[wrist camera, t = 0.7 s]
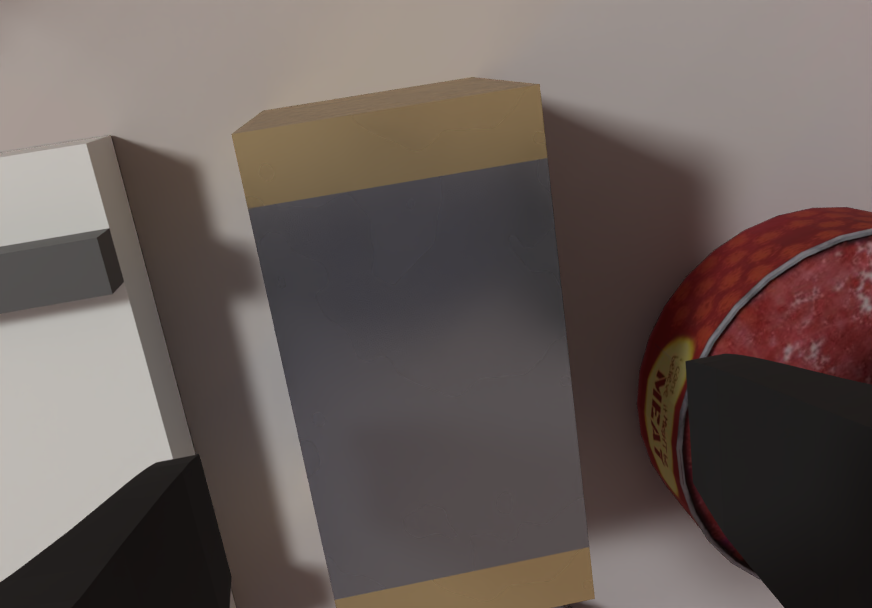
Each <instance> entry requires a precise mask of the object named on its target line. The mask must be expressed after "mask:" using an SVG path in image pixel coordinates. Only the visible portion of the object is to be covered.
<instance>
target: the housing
mask: <svg viewBox="0 0 872 608" xmlns="http://www.w3.org/2000/svg"><path fill="white" fill-rule="evenodd" d="M232 139H233V143H234V148H235V152H236V157H237V161H238V166H239V170H240V175H241V179H242V184H243V188H244V193H245V197H246V202H247V206H248V211H249V215H250V220H251V225H252V229H253V234H254V238H255V243H256V247H257V252H258V256H259V261H260V265H261V270H262V274H263V279H264V283H265V288H266V292H267V297H268V301H269V306H270V310H271V315H272V319H273V324H274V328H275V333H276V337H277V342H278V347H279V351H280V356H281V360H282V365H283V369H284V374H285V378H286V383H287V387H288V392H289V396H290V401H291V405H292V410H293V414H294V419H295V423H296V428H297V432H298V437H299V441H300V446H301V450H302V455H303V460H304V464H305V469H306V473H307V478H308V482H309V487H310V491H311V496H312V500H313V505H314V509H315V514H316V518H317V523H318V527H319V532H320V536H321V541H322V545H323V550H324V554H325V559H326V563H327V568H328V572H329V577H330V582H331V586H332V591H333V595H334V600H335V604H336V608H553V607H558V606H562V605H567V604H572V603H577V602H581V601H586V600H591V599H595V597H594V587H593V578H592V569H591V559H590V550H589V541H588V532H587V522H586V513H585V504H584V494H583V485H582V476H581V466H580V457H579V448H578V438H577V429H576V420H575V410H574V401H573V392H572V382H571V373H570V364H569V354H568V345H567V336H566V326H565V317H564V308H563V299H562V289H561V280H560V271H559V261H558V252H557V243H556V233H555V224H554V215H553V205H552V196H551V187H550V177H549V168H548V159H547V149H546V140H545V131H544V121H543V112H542V103H541V93H540V84H532V83H522V82H513V81H504V80H494V79H485V78H475V77H470V78H464V79H458V80H452V81H445V82H439V83H433V84H427V85H420V86H414V87H408V88H402V89H395V90H389V91H383V92H377V93H371V94H364V95H358V96H352V97H346V98H339V99H333V100H327V101H321V102H314V103H308V104H302V105H296V106H289V107H283V108H277V109H271V110H264V111H262V112H261V113H259V114H258V115H257V116H255V117H254V118H253V119H251V120H250V121H248V122H247V123H246V124H244V125H243V126H242V127H240V128H239V129H238V130H236V131H235V132H234V133H232Z"/></svg>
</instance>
